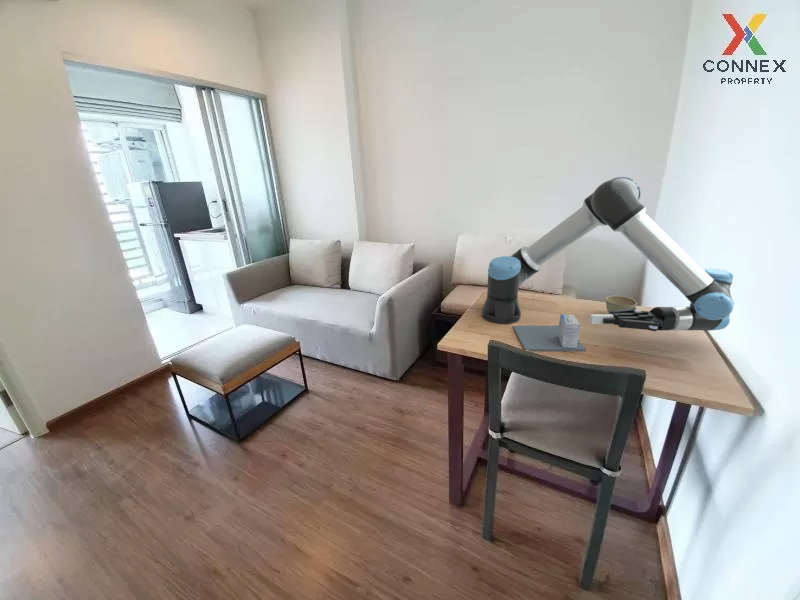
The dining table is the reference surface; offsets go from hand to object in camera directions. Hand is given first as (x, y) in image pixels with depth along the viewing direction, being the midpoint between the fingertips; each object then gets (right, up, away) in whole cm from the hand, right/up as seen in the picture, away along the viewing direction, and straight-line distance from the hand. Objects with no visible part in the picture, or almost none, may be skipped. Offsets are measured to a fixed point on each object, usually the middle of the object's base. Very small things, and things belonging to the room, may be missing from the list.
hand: (591, 319), depth 106 cm
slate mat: (-11, -7, +8) cm, 15 cm away
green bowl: (+23, -1, +21) cm, 31 cm away
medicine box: (-6, -8, +4) cm, 11 cm away
